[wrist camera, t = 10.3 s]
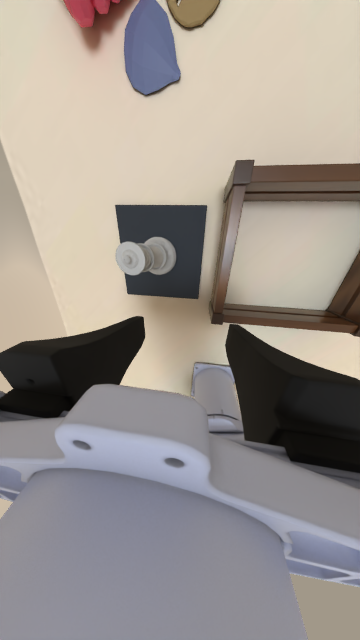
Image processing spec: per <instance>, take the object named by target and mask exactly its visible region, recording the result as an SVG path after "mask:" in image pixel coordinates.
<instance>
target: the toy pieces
mask: <svg viewBox="0 0 360 640" xmlns="http://www.w3.org/2000/svg"><path fill="white" fill-rule="evenodd" d="M110 1H112V2H114V3H117V4H118V3H119V2H120V0H64V2H65V4H66V7H67V9H68V10H69V12H70V14H71V15H72V17H73V18H74V19H75V20H76V22H77V23H78V24H79V25H80V26H81V27H91V26H93V21H94V14H95V8H96V10H97V11H98V12H99V14H107V13H108V10H109V6H110ZM167 2H168V6H169V8H170V10H171V12H172V14H173V15H174V17H175V19H176V20H177V21H178V22H179V23H180V24H181V25H183V26H185V27H190V28H191V27H195V26H198V25H202V24H203V22H204V21H205V20H206V19H207V17H209V16H210V15H211V14H212V13H213V12H214V10H215V8H216V6H217V4H218V3H219V0H181V2H180V4H179V7H178V5H177V3H176V0H167ZM124 55H125V67H126V73H127V75H128V77H129V80H130V82H131V84H132V86H133V87H134V88H135V89H137V90H139V91H140V92H142V93H143V94H145V95H146V94H149V93H152V92H154V91H157V90H159V89H161V88H162V87H164V86H166V85H167V84H169V83H171V82H173V81H177V80H179V77H180V74H181V73H180V70H179V67H178V65H177V60H176V52H175V45H174V38H173V34H172V30H171V27H170V24H169V20H168V17H167V13H166V12H165V11H164V10H163V9H162V7H161V6H160V5H159V4H158V2H157V1H156V0H140V1H139V3H138V4H137V6H136V7H135V9H134V10H133V12H132V13H131V16H130V18H129V21H128V24H127V26H126V29H125V41H124Z"/></svg>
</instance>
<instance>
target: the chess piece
mask: <svg viewBox="0 0 360 640" xmlns="http://www.w3.org/2000/svg"><path fill="white" fill-rule="evenodd" d="M116 262H117V264H118V266H119V267H120V269H121V270H122V271H123V272H125V273H126V274H129V275H138V274H140V273H141V272H146V271H150V272H151V273H153V274H156V275H161V274H165V273H167V272H169V271H171V269H172V268H173V267H174V265H175V263H176V251H175V248H174V246H173V245H172V244H171V242H170V241H168V240H167V239H165V238H162V237H153V238H150V239H148V240H147V241H146V242H145V243H144V244H143V243H138V244H136V243H134V242H123V243H122V244H120V245H119V246H118V248H117V250H116Z"/></svg>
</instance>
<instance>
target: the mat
mask: <svg viewBox="0 0 360 640" xmlns="http://www.w3.org/2000/svg"><path fill="white" fill-rule="evenodd" d="M115 207H116V214H117V222H118V229H119V236H120V243H121V244H122V243H123V242H134V243H136V244H138V243H143V244H144V243H145V242H146V241H147V240H148V239H150V238H153V237H162V238H165V239H167V240H168V241H170V242H171V244H172V245H173V246H174V248H175V251H176V263H175V265H174V267H173V268H172V269H171V271H169V272H167V273H165V274H161V275H156V274H153V273H151V272H150V271H146V272H141V273H140V274H138V275H129V274H126V273H125V279H126V286H127V293H128V294H134V295H148V296H163V297H177V298H191V299H198V294H199V284H200V274H201V263H202V253H203V242H204V232H205V222H206V211H207V205H115Z"/></svg>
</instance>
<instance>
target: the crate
mask: <svg viewBox="0 0 360 640" xmlns="http://www.w3.org/2000/svg"><path fill="white" fill-rule="evenodd" d="M243 201H360V164H317V165H274V166H254V160H237V161H236V162H235V165H234V167H233V170H232V172H231V175H230V177H229V180H228V182H227V185H226V187H225V195H224V203H225V208H224V215H223V222H222V229H221V236H220V243H219V250H218V257H217V264H216V271H215V278H214V285H213V293H212V300H211V301H210V304H209V314H210V320H211V324H220V325H222V324H223V322H226V323H237V324H249V325H261V326H272V327H284V328H296V329H308V330H319V331H331V332H343V333H350V334H352V335H353V336H358V337H360V252H359V254H358V256H357V258H356V259H355V261H354V263H353V265H352V267H351V268H350V270H349V272H348V274H347V276H346V277H345V279H344V281H343V283H342V285H341V287H340V288H339V290H338V292H337V294H336V296H335V297H334V299H333V301H332V303H331V305H330V306H329V308H328V310H326V311H320V310H306V309H292V308H279V307H265V306H251V305H237V304H224V302H225V297H226V292H227V286H228V281H229V276H230V270H231V265H232V260H233V254H234V249H235V244H236V238H237V233H238V228H239V222H240V217H241V212H242V206H243Z"/></svg>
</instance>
